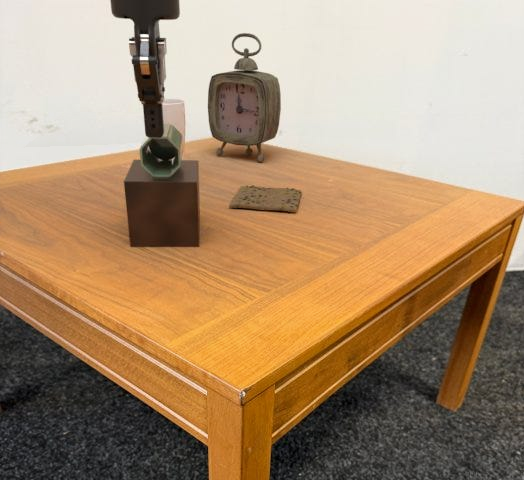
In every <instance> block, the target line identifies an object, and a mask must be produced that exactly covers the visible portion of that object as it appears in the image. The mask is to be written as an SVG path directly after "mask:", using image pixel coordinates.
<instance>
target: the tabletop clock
mask: <svg viewBox="0 0 524 480" xmlns="http://www.w3.org/2000/svg"><path fill="white" fill-rule="evenodd" d="M240 38H252V39H253V40H255V41H256V42H257V43H258V44H257V45H258V46H259V47H258V49H257V50H255V51H253V52H250V50H249V48H244V49H243V51H240V50H238V49H237V48H235V42H236V41H237V40H238V39H240ZM231 48H232V50H233V51H234V53H235V54H237V55H239V56H241V58H239V59H237V60H236V62H235V64H234V66H233V69H234V70H232V71H231V70H230V71H226V72H219V73H215V74H213V75H211V77H210V80H209V85H208V89H207V90H208V92H207V95H208V96H207V116H208V124H209V125H208V126H209V130H210V133H211V136H212V138H214V139H216V140H217V141H219V142H222V144H221V146H220V147H218V148H217V149H216V151H215V153H216V155H217V156H222V155H223V154H224V150H223V149H224V148H225V147H226V145H227V144H229V145H234V146H244V147H247V148H245V154H246V155H247V156H251V155H252V154H253V149H252V148H251V147H254V146H256V149H257V152H258V153H257V154H258V155H257V157H256V159H257V162H259V163H262V162H264V161H265V156H264V155H263V154H262V144H263V143H266V142H268V141H271V140H274V139H275V138H276V136H277V134H278V130H279V126H280V121H281V113H282V112H281V111H282V110H281V109H282V105H281V104H282V103H281V101H282V99H281V97H282V96H281V87H280V82H279V79H278V77H277V76H275V75H274V74H271V73H268V72H263V71H259V68H258V64H257V62H256V61H255V59H253V58H251V57H254V56H256V55H258V54H259V53H261V50H262V42H261V39H259V37H258V36H257V35H255V34H252V33H250V32H249V33H247V32H243V33H239V34H237V35H235V36H234V37H233V39H232V41H231Z"/></svg>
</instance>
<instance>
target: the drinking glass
mask: <svg viewBox="0 0 524 480" xmlns="http://www.w3.org/2000/svg"><path fill="white" fill-rule="evenodd" d="M162 106H163V122H164V124H172V125H173V126H174V127H175V128H176V129H177V130H178V131H179V132H180V133H181V134H182V136H183V155H182V160H185V147H186V108H185V107H186V106H185V100H183V99H180V98H171V97H164V99H163V103H162ZM171 160H172V159H171Z"/></svg>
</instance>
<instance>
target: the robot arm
mask: <svg viewBox="0 0 524 480" xmlns="http://www.w3.org/2000/svg"><path fill="white" fill-rule="evenodd" d="M109 2H110V9H111V10H110V11H111V15H112V16H113V17H114V18H117V19H123V20H124V19H126V20H131V21H132V22H133V35H134V36H131V37H130V38H128V49H129V55H130V56H131V58H132V59H131V65H132V67H133V76H134V82H135V84H136V88H137V98H138V100H139V102H140V103H141V105H142V110H143V122H144V133H145V136H147V137H149V138H161V137H162V136H163V134H164V122H163V106H162V103H163V99H164V98H165V92H166V89H165V88H166V87H165V81H166V80H167V65H166V55H167V53H168V48H167V47H168V45H167V37H161V32H160V23H159V22H160V21H175V20H177V19H179V17H180V16H181V9H180V6H181V5H180V0H110V1H109Z"/></svg>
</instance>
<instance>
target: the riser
mask: <svg viewBox="0 0 524 480" xmlns="http://www.w3.org/2000/svg"><path fill="white" fill-rule="evenodd" d="M199 162H200V161H199V160H197V159H196V160H195V159H193V160H192V159H190V160H187V159H184V160H182V161H181V166H180V167H179V169H178V170H177V171H176V172H175V173H174V174H173V175H172V176H171V177H170V176H169V178H166V177H154V176H152V175H151V174H149V173H148V172H147V171H146V170H145V169H144V168H143V167H142V165H141V161H140V159H133V160H132V163H131V164H130V167H129V169H128V171H127V174H126V176H125V178H124V180H123V186H124V187H123V188H124V199H125V207H126V216H127V217H126V219H127V227H128V236H129V244H130V245H129V246H130V247H200V237H201V236H200V235H201V234H200V233H201V202H200V201H201V197H200V196H201V195H200V168H199V167H200V166H199V165H200V163H199Z"/></svg>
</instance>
